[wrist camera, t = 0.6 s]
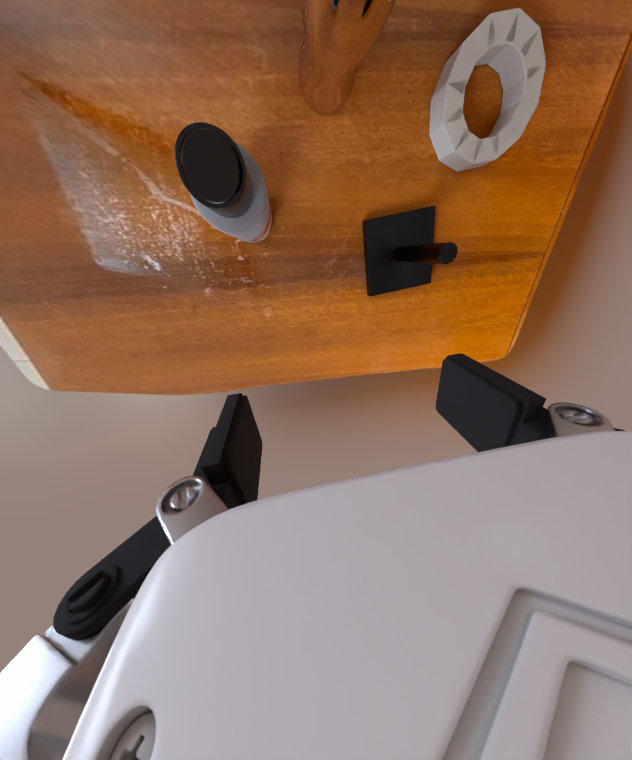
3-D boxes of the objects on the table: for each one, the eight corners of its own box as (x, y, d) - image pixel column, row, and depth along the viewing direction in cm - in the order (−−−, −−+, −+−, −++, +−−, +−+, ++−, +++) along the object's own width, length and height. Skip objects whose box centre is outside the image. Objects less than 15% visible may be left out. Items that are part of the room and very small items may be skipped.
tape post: (362, 221, 32) (402, 204, 21) (430, 207, 32) (504, 183, 22) (367, 295, 37) (402, 311, 26) (426, 282, 37) (485, 292, 27)
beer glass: (327, 0, 23) (392, -346, 10) (368, 81, 26) (458, -98, 13) (279, 68, 24) (279, -149, 11) (322, 137, 27) (361, 28, 14)
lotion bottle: (280, 215, 30) (281, 160, 13) (257, 252, 32) (229, 248, 15) (242, 178, 28) (182, 52, 11) (219, 221, 30) (133, 171, 12)
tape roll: (432, 44, 25) (450, 20, 22) (530, 25, 25) (559, -1, 23) (427, 178, 31) (440, 170, 28) (507, 161, 31) (528, 152, 28)
